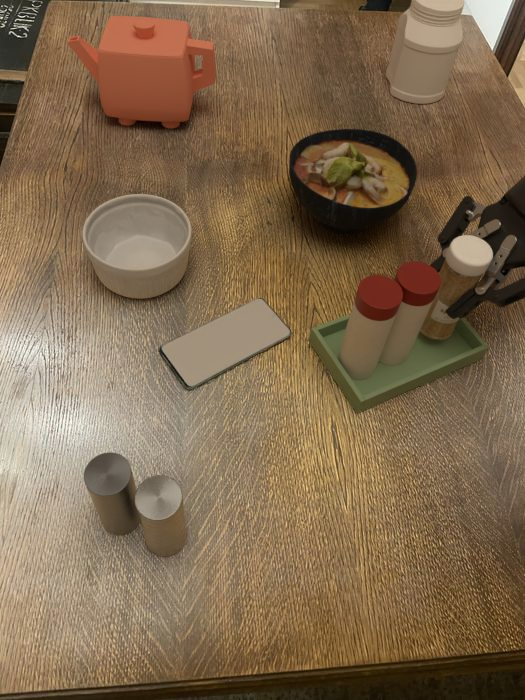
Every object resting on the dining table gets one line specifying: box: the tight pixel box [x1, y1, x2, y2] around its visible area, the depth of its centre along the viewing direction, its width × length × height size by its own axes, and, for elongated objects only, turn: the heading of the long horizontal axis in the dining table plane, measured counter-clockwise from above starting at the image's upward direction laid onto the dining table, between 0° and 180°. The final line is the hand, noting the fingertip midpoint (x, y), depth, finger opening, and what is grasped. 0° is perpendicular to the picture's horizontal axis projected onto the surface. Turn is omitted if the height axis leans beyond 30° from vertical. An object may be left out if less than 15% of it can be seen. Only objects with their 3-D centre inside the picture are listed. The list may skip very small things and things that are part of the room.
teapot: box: [67, 15, 217, 129], centre depth 94 cm, size 22×13×14 cm, turn 89°
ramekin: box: [81, 193, 193, 300], centre depth 76 cm, size 13×13×7 cm
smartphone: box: [158, 297, 292, 390], centre depth 73 cm, size 7×1×15 cm
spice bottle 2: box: [379, 260, 441, 366], centre depth 68 cm, size 5×5×13 cm
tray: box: [308, 313, 490, 414], centre depth 73 cm, size 18×11×3 cm, turn 117°
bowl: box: [288, 128, 418, 235], centre depth 84 cm, size 17×17×10 cm
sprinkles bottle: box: [420, 234, 493, 340], centre depth 69 cm, size 5×5×14 cm
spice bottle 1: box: [337, 274, 403, 380], centre depth 66 cm, size 5×5×13 cm
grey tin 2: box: [134, 474, 188, 558], centre depth 55 cm, size 4×4×10 cm
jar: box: [385, 0, 465, 105], centre depth 103 cm, size 12×10×15 cm
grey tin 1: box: [83, 452, 141, 536], centre depth 56 cm, size 4×4×10 cm
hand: (437, 299), depth 69 cm, fingers closed on sprinkles bottle, 4 cm apart
